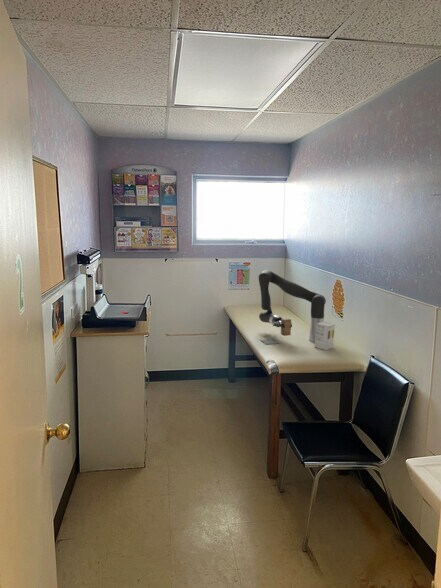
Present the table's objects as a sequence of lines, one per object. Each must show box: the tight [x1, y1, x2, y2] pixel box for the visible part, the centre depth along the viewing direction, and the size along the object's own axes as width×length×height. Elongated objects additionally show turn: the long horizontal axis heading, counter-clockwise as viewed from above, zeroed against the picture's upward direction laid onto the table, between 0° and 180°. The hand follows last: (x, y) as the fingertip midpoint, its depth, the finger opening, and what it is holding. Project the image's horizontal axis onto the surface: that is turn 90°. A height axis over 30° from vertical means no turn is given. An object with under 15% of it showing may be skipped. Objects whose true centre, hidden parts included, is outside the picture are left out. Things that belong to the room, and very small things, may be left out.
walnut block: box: [280, 317, 292, 336], centre depth 304 cm, size 5×5×11 cm
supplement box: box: [314, 321, 336, 351], centre depth 297 cm, size 10×9×17 cm
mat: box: [260, 338, 280, 345], centre depth 306 cm, size 10×10×1 cm
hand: (287, 326), depth 302 cm, fingers closed on walnut block, 5 cm apart
